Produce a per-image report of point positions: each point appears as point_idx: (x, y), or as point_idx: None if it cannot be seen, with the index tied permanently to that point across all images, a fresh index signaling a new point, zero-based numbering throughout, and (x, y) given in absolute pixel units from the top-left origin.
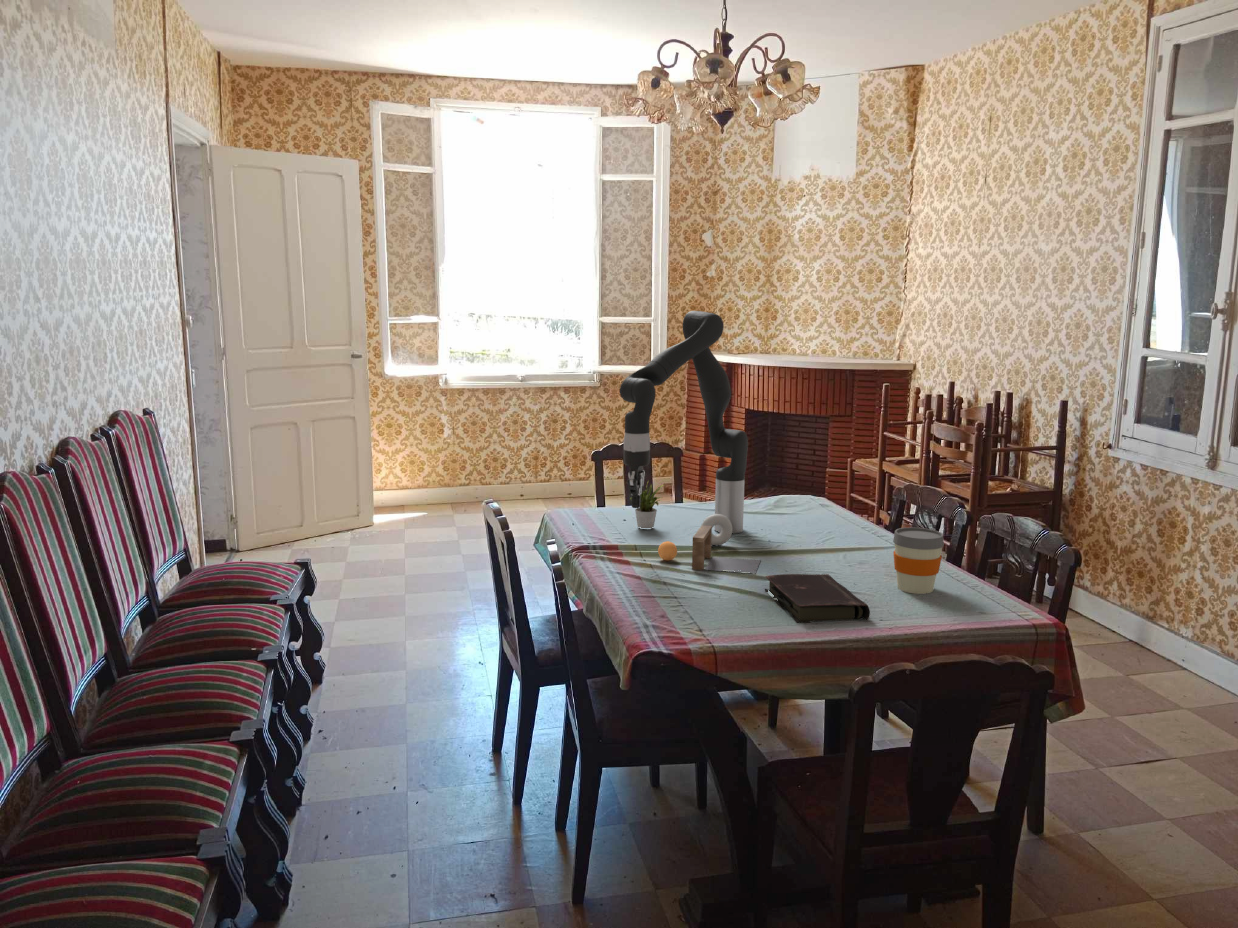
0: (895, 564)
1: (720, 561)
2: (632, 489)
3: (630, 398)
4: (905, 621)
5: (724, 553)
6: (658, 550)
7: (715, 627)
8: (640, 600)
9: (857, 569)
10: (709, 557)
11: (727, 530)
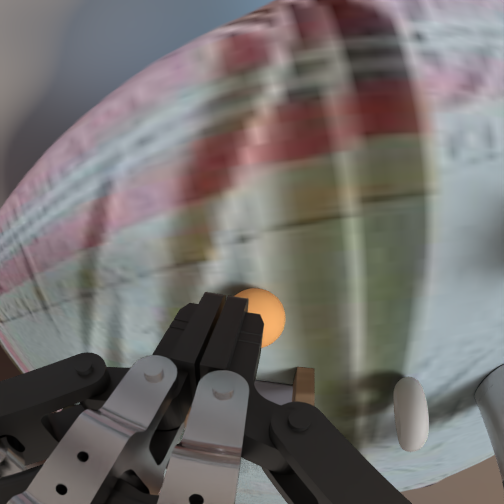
0: None
1: (266, 397)
2: (113, 408)
3: None
4: None
5: (338, 401)
6: (242, 295)
7: (12, 336)
8: (15, 258)
9: (263, 483)
10: (293, 383)
11: (397, 429)
